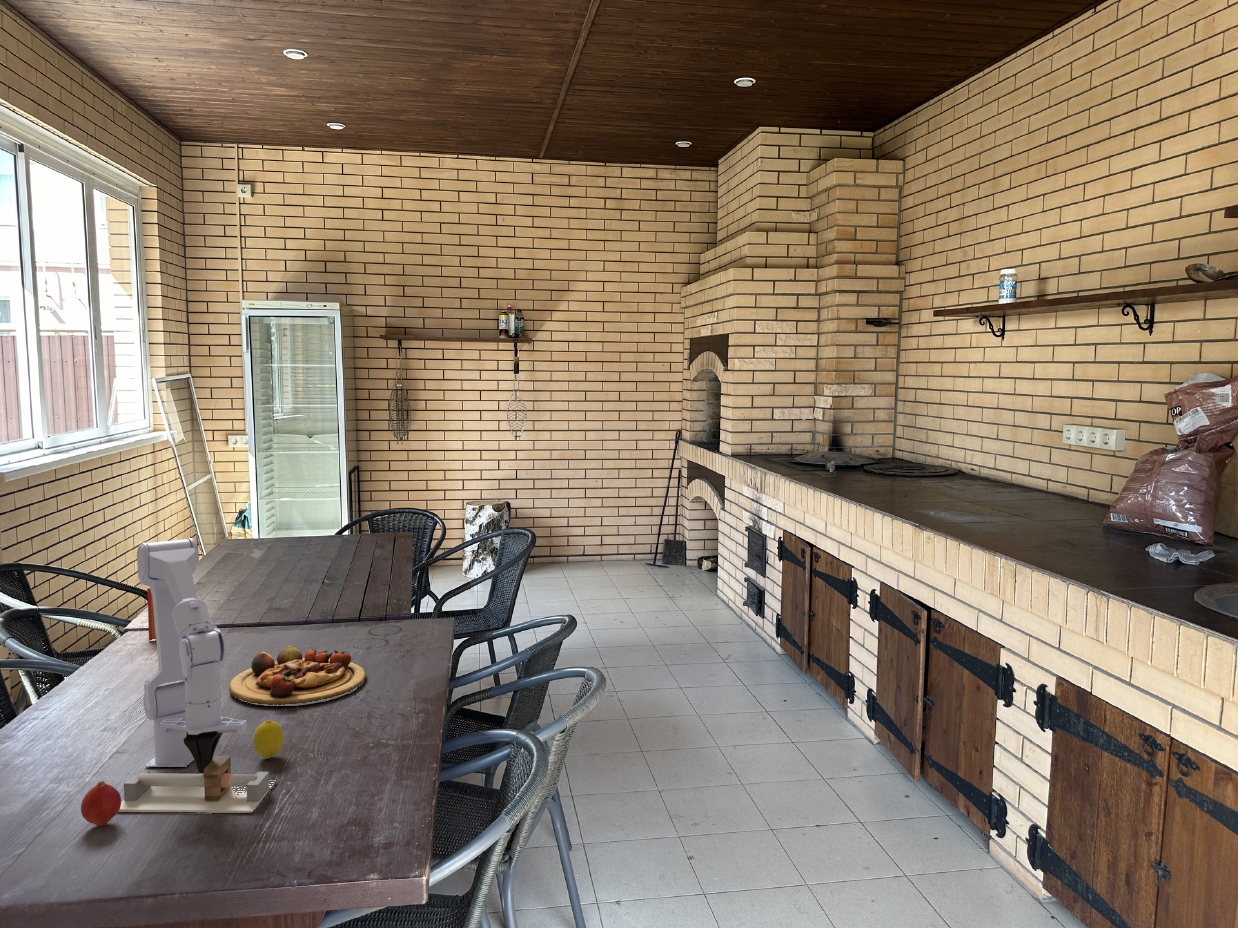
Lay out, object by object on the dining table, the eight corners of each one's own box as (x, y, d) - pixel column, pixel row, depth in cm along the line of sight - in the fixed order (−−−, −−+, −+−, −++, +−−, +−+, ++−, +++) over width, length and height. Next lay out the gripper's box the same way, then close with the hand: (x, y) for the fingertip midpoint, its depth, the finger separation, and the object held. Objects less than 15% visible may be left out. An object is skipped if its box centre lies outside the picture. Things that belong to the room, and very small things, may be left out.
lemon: (287, 752, 169) (287, 714, 168) (277, 764, 163) (277, 725, 162) (260, 751, 169) (259, 714, 168) (249, 764, 163) (248, 725, 162)
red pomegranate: (76, 826, 139) (74, 780, 138) (113, 812, 144) (112, 768, 143) (89, 838, 136) (87, 792, 135) (127, 824, 140) (126, 779, 139)
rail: (113, 812, 144) (112, 787, 143) (147, 782, 155) (146, 758, 154) (252, 813, 145) (251, 788, 144) (276, 783, 156) (276, 760, 155)
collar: (204, 800, 147) (203, 768, 147) (217, 786, 152) (217, 755, 152) (218, 800, 147) (217, 769, 147) (231, 786, 152) (230, 755, 152)
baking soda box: (174, 639, 239) (173, 585, 237) (149, 641, 236) (147, 587, 234) (177, 630, 247) (175, 578, 246) (152, 632, 245) (150, 579, 243)
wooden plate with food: (320, 716, 188) (321, 681, 187) (198, 700, 194) (198, 666, 194) (388, 672, 219) (389, 642, 218) (281, 660, 225) (281, 630, 225)
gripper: (150, 706, 144) (152, 780, 145) (234, 707, 144) (235, 781, 146) (170, 691, 151) (172, 762, 152) (250, 692, 151) (252, 763, 153)
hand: (204, 770), depth 149 cm, fingers closed
